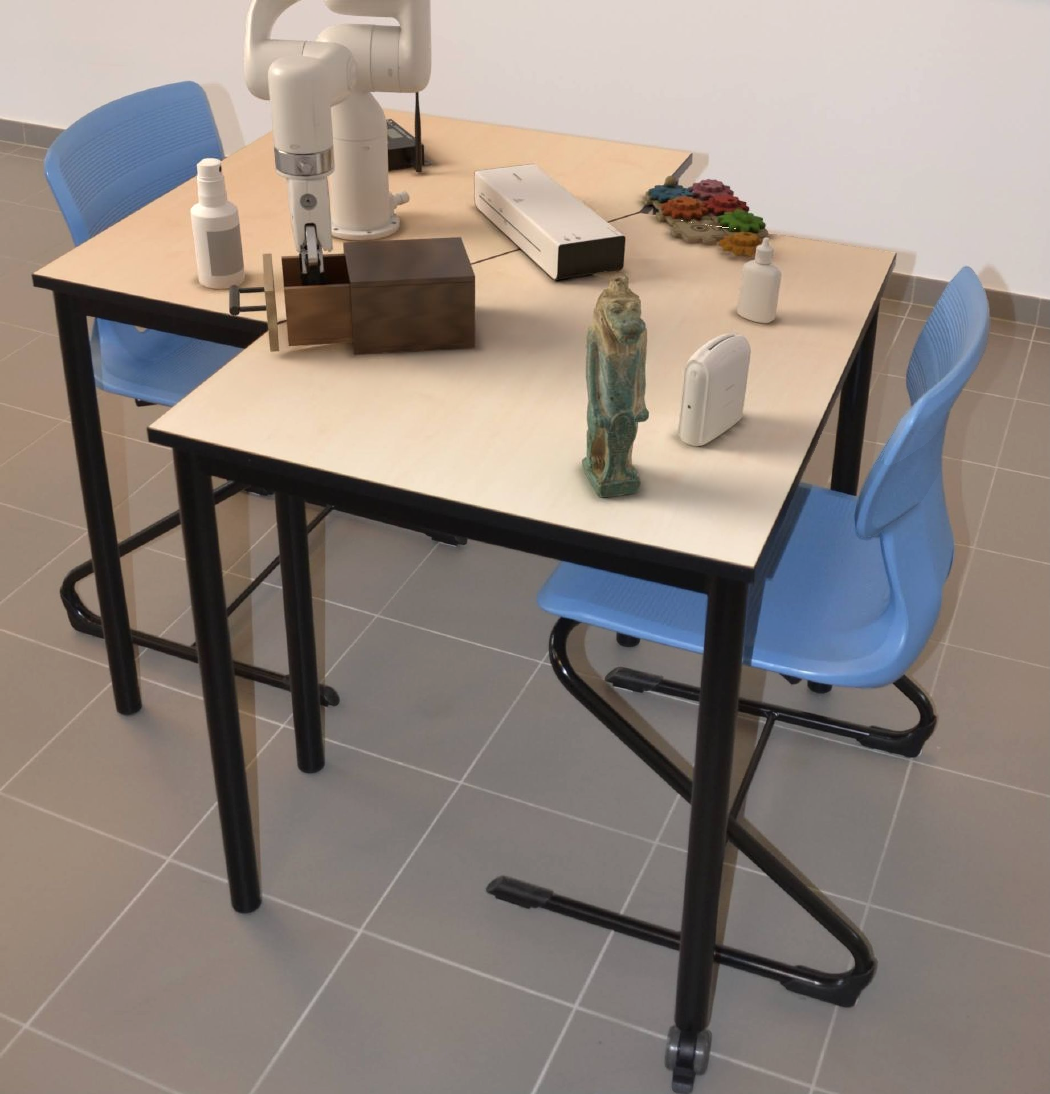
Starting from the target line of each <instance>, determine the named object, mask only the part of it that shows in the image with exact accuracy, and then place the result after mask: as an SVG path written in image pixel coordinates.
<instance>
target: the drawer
mask: <svg viewBox="0 0 1050 1094" xmlns="http://www.w3.org/2000/svg"><path fill="white" fill-rule="evenodd" d="M280 259H281V270H282V271H281V272H282V281H283V296H284V307H285V318H286V330H287V343H288V347H301V346H319V345H320V346H321V345H336V344H337V345H338V344H352V343H353V332H352V313H351V295H350V283H349V277H348V271H347V266H346V260H345V254H344V252H343V253H323V264H324V271H325V273H326V285H314V286H302V281H301V274H300V261H299V255H283V256H282V255H281V258H280ZM262 266H263V267H262V268H263V271H262V272H263V286H250V287H240V286H239V285H232V286H230V288H228V296H229V297H228V312H229V315H231V316H233V317H236V316H237V317H238V315H240V314H241V313H247V312H248V313H250V312H251V313H252V312H266V322H267V323H266V324H267V332H268V333H267V334H268V343H269V351H270V352H271V353H273V352H280V343H279V342H280V341H279V327H278V326H279V325H278V314H277V313H278V311H277V300H276V289H275V279H274V267H273V256H272V253H262ZM254 293H255V294H256V293H264V302H265V304H262V305H244V306H241V294H254Z"/></svg>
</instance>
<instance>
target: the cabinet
mask: <svg viewBox="0 0 1050 1094" xmlns="http://www.w3.org/2000/svg"><path fill="white" fill-rule="evenodd" d="M342 247H343V248H342V249H343V253H344V254H345V260H346V266H347V271H348V277H349V283H350V295H351V313H352V332H353V343H351V345H352V350H353V355H354V356H358V355H361V356H362V355H375V354H392V353H394V354H395V353H407V352H426V351H442V350H443V351H444V350H459V349H475V348H476V274H475V272H474V268H473V266H472V263H471V261H470V257H469V254H468V252H467V250H466V247H465V243H464V241H463V238H462V236H453V237H429V238H410V239H407V238H406V239H388V240H387V239H386V240H361V241H344V242H342Z"/></svg>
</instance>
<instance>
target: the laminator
mask: <svg viewBox="0 0 1050 1094" xmlns="http://www.w3.org/2000/svg"><path fill="white" fill-rule="evenodd" d="M473 174H474V176H473V177H474V178H473V179H474V180H473V186H474V187H473V199H474V205H475V207H476V209H477V210H478V211H479V212H480V213H481V214H482V215H483V216H484V217H485V218H486V220H488V221H490V223H491V224H492V225H494V226H495V227H496V228H497V229H498V230H499V231H500V232H501V233H502V234H503V235H504V236H505V237H506V238H508V240H510V241H511V242H512V244H514V245H515V246H516V247H517V248H518V249H519V250H520V251H521V252H522V253H524V254H525V256H527V257H528V258H529V259H530V260H531V261H532V262H533V263H534V264H535V265H536V266H538V267H539V269H541V270H542V271H543V272H544V273H545V274H546V275H547V276H548V277H549V278H550V279H551V280H552V281H555V282H556V281H558V280H564V279H570V278H576V277H583V276H589V275H594V274H602V273H607V272H614V271H615V272H616V271H619V272H620V271H622V270H623V268H624V266H625V265H624V264H625V251H626V236H625V235H624V234H623V233H621V232H620V231H619V230H618V229H617V228H615V227H614V226H613V225H611V224H610V223H609V222H608V221H606V219H604V218H603V217H601V216H600V214H598V213H596V212H595V211H594V210H593V209H592V208H590V206H588V205H586V203H584V202H582V200H580V199H579V198H577V196H575V195H574V194H573V193H572V192H570V191H569V190H568V189H567V188H565V187H564V186H562V185H561V184H560V183H559V182H558V181H557V180H555V179H554V178H553V177H552V176H550V175H549V174H547V173H546V172H545V171H544V170H543V169H541V168H540V167H539V166H537V165H536V164H535V163H527V164H519V165H511V166H501V167H493V168H487V169H486V168H485V169H477V170H474V173H473Z"/></svg>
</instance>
